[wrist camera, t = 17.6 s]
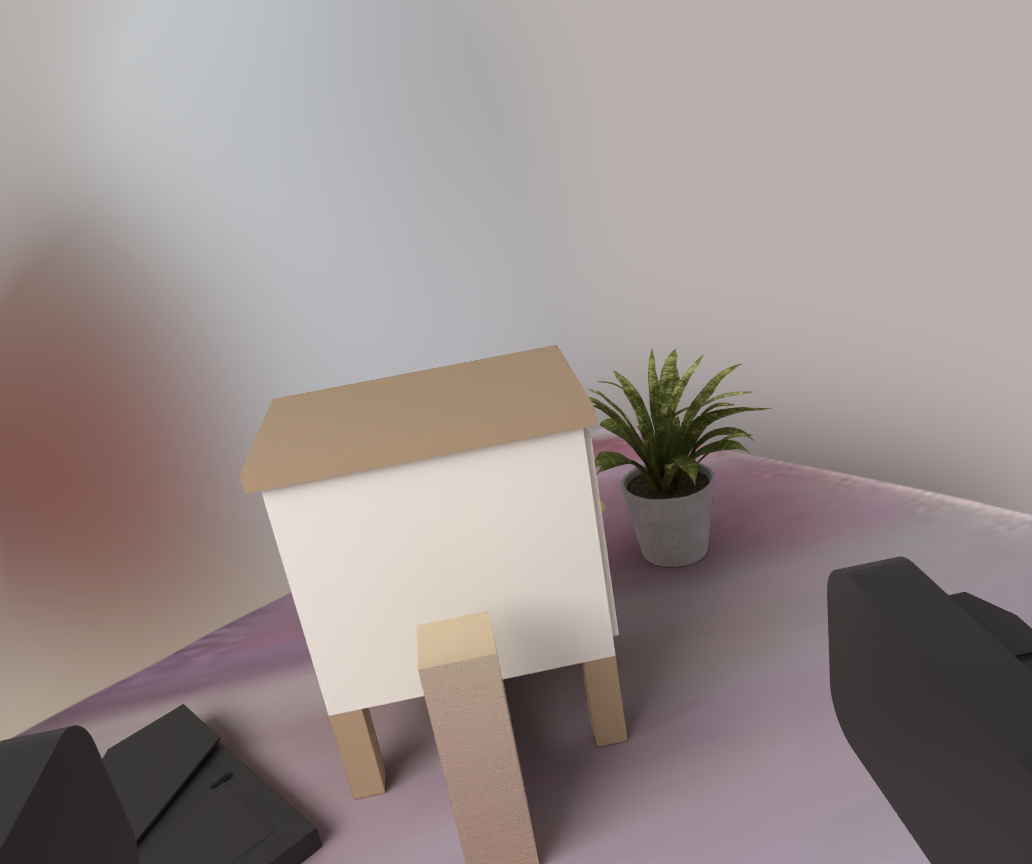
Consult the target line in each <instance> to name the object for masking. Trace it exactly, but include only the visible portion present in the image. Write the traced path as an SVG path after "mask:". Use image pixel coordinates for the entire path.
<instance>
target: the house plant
mask: <svg viewBox="0 0 1032 864" xmlns="http://www.w3.org/2000/svg"><path fill="white" fill-rule="evenodd" d="M675 350H676V349H675ZM675 350H674V351H672V353H671V354H670V355H669V356H668V358H667V359H666V361H665V364H664V367H663V369H662V372H661V377H660V381H659V382H658V378H657V375H656V371H655V358H654V354H653V350H652V351H651V354H650V359H649V368H648V381H649V396H650V411H651V418H652V421H653V425H654V429H655V436H654V430H653V426H652V423H651V420H650V417H649V415H648V412H647V410H646V407H645V405H644V402H643V400H642V398H641V396H640V395H639V393H638V392H637V390H636V389H635V388H634V387H633V385H632V384H631V383H630V382H629V381H628V380H627V379H626V378H625V377H624V376H622V375H620V374H618V373H617V372H615V371H614V373H615V376H616V378H617V379H618V380H619V381H620V382H621V384H622V387H620V386H618V385H617V384H614V383H611V382H604V381H603V382H604V383H610V384H613V385H616V386H618V387H620V388H622V389H623V391H624V393H625V395H626V396H627V398H628V400H629V401H630V403H631V404H632V406H633V409H634V411H635V414H636V417H637V420H638V423H639V426H637V427H638V429H639V431H640V433H641V435H642V438H643V441H644V443H643V442H642V440H641V439H640V438H639V436H638V434H637V433H636V431H635V429H634V428H633V426H632V424H631V423H630V421H629V420H628V418H627V417H626V415H625V414H624V413H623V411H622V410H621V409H620V408H618V407H617V406H616V405H615V404H614V403H612V402H611V401H610V400H609V399H608V398H607V397H605V396H604V395H603V394H602V393H601V392H598V391H593V390H591V391H592V392H594V393H597V394H599V395H601V396H602V397H603V398H604V399H606V401H607V402H609V403H610V404H611V405H612V406H613V407H614V408H615V409H616V410H617V411H619V412H620V413H621V414H622V416H623V417H624V419H625V420H626V421H627V423H628V424H629V426H630V427H629V426H628V425H627V424H626V423H625V421H624V420H623V419H622V418H621V417H620V416H619V415H618V414H617V413H616V412H614V411H613V410H612V409H610V408H609V407H607V406H606V405H605V404H603V403H601V402H600V401H598V400H597V399H594V398H592V397H589V399H590V400H591V402H593V403H595V404H596V405H594V407H596V408H598V409H600V410H602V411H603V412H604V413H606V414H607V415H609V416H610V417H611V418H612V419H606V420H604V421H602V422H601V424H600V425H601V426H602V427H604V428H605V429H607V430H609V431H611V432H612V433H614V434H616V435H618V436H619V437H621V438H623V439H624V440H625V441H626V442H627V443H628V444H629V445H630V446H631V447H632V448H633V449H634V450H635V452H636V453H637V454H638V456H639V457H640V458H641V459H642V461H643V462H644V463H645V464H644V465H640V464H638V463H637V462H635V461H633V460H630V459H628V458H626V457H625V456H623V455H621V454H619V453H615V452H609V451H606V452H601V453H600V454H598V456H597V458H596V460H595V467H596V466H602V467H601V468H600V469H599V471H598V473H599V472H601V471H604V470H607V469H610V468H613V467H616V466H619V465H623V464H633V465H635V466H636V467H637V468H635V469H633V470H631V471H630V472H628V473H627V474H626V475H625V476H624V478H623V480H622V482H621V487H622V491H623V494H624V497H625V500H626V503H627V507H628V510H629V513H630V516H631V520H632V523H633V526H634V529H635V532H636V536H637V539H638V542H639V545H640V548H641V552H642V555H643V556H644V558H645V559H646V560H647V561H649V562H650V563H653V564H655V565H659V566H663V567H680V566H685V565H690V564H692V563H695V562H697V561H699V560H700V559H702V558H703V557H704V556H705V555H706V554H707V551H708V545H709V534H710V524H711V513H712V502H713V492H714V481H715V477H714V473H713V472H712V471H711V469H710V468H709V467H707V466H705V465H703V464H701V463H699V462H700V461H701V460H702V459H703V458H704V457H705V456H706V455H707V454H709V453H711V452H716V451H723V450H732V449H740V450H745V451H747V450H746V449H745V448H744V447H743V446H742V445H741V444H740V443H739V442H736V441H732V440H728V439H730V438H733V437H737V436H747V437H749V438H751V437H750V434H747V433H746V432H744V431H742V430H740V429H737V428H734V427H725V428H720V429H715V430H713V431H711V432H709V433H707V434H705V435H704V436H703V437H702V438H701V439H700V440H699V441H697V440H698V438H699V437H700V435H701V434H702V432H703V431H704V430H705V428H706V427H707V426H708V425H709V424H711V423H712V422H713V421H715V420H718V419H720V418H722V417H725V416H729V415H732V414H736V413H739V412H744V411H754V410H765V409H767V408H747V407H739V408H728V409H720V410H715V411H712V412H708V411H709V410H711V409H713V408H715V407H718V406H730V405H734V404H729V403H716V404H714V405H711V406H710V407H709V408H707V409H706V410H705V411H704V412H703V413H702V414H701V415H700V416H698V417H697V418H696V419H695V420H693V419H694V417H695V415H696V414H697V412H698V411H699V409H700V408H701V407H702V406H704V405H706V404H708V403H710V402H712V401H714V400H717V399H720V398H723V397H726V396H733V395H739V394H746V393H751V392H732V393H727V394H723V395H719V396H717V397H714V398H712V399H710V400H708V401H707V402H706V400H707V399H708V398H709V397H710V396H711V395H712V394H713V392H714V390H715V389H716V387H717V385H718V383H719V382H720V381H721V379H723V378H724V377H725V376H726V375H727V374H729V373H730V372H731V371H733V370H734V369H735V368H736V367H738V366H739V365H740V364H739V365H735V366H732V367H730V368H727V369H725V370H724V371H722V372H720V373H719V374H718V375H716V376H715V377H714V378H713V379H712V380H711V381H710V382H709V383H708V384H707V385H706V386H705V387H704V388H703V390H702V391H701V392H700V394H698V396H697V397H696V398H695V400H694V401H693V402H692V404H691V405H690V407H687V408H684V409H682V410H680V411H678V412H676V413H675V411H676V408H677V405H678V403H679V401H680V398H681V396H682V394H683V392H684V389H685V387H686V385H687V383H688V381H689V379H690V377H691V375H692V374H693V372H694V371H695V369H696V368H697V366H698V365H699V363H700V361H701V359H702V356H701V357H700V358H699V359H698V360H697V361H696V362H695V363H694V364H693V365H692V366H691V367H690V368H689V369H688V371H687V372H686V373H685V374H684V376H683V377H682V378H681V380H680V378H679V374H678V371H677V367H676V361H677V354H676V351H675ZM679 380H680V381H679ZM601 382H602V381H601ZM589 390H590V389H589ZM686 409H688V410H687V412H686V414H685V417H684V419H683V422H682V425H681V426H680V420H679V417H675V416H676V415H678V414H679V413H681V412H683V411H684V410H686ZM706 412H708V413H706ZM692 420H693V421H692ZM679 426H680V428H679ZM728 434H731V435H729V436H727V437H725V438H724V439H722V440H721V441H716V442H714V443H711V444H708V445H706V446H704V447H702V448H701V449H699V450H698V451H696V449H697V448H698V447H699V446H700V445H701V444H703V443H704V442H705V441H706V440H708V439H709V438H712V437H714V436H717V435H728ZM751 439H752V438H751ZM696 441H697V442H696ZM644 444H645V445H644ZM694 444H695V445H694ZM693 446H694V447H693ZM692 448H693V449H692ZM691 449H692V451H691ZM690 451H691V453H690V455H689V456H688V454H689V452H690ZM695 451H696V452H695ZM747 452H748V451H747ZM703 454H705V455H704V456H703V457H702V458H701V459H700V460H699V461H698V462H696V460H695V458H697V457H698V456H700V455H703ZM630 461H631V462H630ZM598 473H597V474H598ZM597 474H596V475H597Z"/></svg>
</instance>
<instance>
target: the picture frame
mask: <svg viewBox="0 0 1032 864" xmlns="http://www.w3.org/2000/svg"><path fill="white" fill-rule="evenodd" d="M219 741H220V737H219V736H218V735H217V734H216V733H214V732H213V731H212V730H211V729H210V728H209V727H208V726H207V725H206V724H205V723H204V722H202V721H201V720H200V719H199V718H198V717H197V716H196V715H195V714H194V713H193V712H192V711H191V710H189V709H188V708H187V707H186V706H185V705H184V704H183V705H181V706H179V707H178V708H176V709H174V710H173V711H171V712H169V713H168V714H166V715H164V716H163V717H161V718H159V719H158V720H156V721H154V722H153V723H151V724H149V725H148V726H146V727H144V728H143V729H141V730H139V731H138V732H136V733H134V734H133V735H131V736H129V737H128V738H126V739H124V740H123V741H121V742H119V743H118V744H116V745H114V746H113V747H111V748H110V749H108V750H107V752H106V754H105V755H104V757H103V759H102V761H103V763H104V765H105V768H106V770H107V772H108V775H109V777H110V779H111V782H112V784H113V786H114V789H115V791H116V793H117V795H118V798H119V800H120V802H121V805H122V807H123V809H124V812H125V814H126V816H127V819H128V821H129V823H130V826H131V828H132V830H133V833H134V836H135V840H136V843H137V849H138V858H139V864H301V863H302V862H303V861H305V860H306V859H307V858H309V857H310V856H311V855H312V854H314V853H315V852H316V851H317V850H319V849H320V848H321V847H322V844H321V841H320V838H319V835H318V832H317V829H316V827H314V826H313V825H312V824H311V823H310V822H309V821H308V820H307V819H305V818H304V817H303V816H302V815H301V814H300V813H299V812H298V811H296V810H295V809H294V808H293V807H292V806H291V805H290V804H289V803H287V802H286V801H285V800H284V799H283V798H282V797H281V796H280V795H278V794H277V793H276V792H275V791H274V790H273V789H272V788H271V787H269V786H268V785H267V784H266V783H265V782H264V781H263V780H261V779H260V778H259V777H258V776H257V775H256V774H255V773H254V772H252V771H251V770H250V769H249V768H248V767H247V766H246V765H245V764H243V763H242V762H241V761H240V760H239V759H238V758H237V757H236V756H234V755H233V754H232V753H231V752H230V751H229V750H228V749H227V748H225V747H224V746H223V745H222V744H221V743H220V742H219Z"/></svg>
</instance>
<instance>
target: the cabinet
mask: <svg viewBox="0 0 1032 864" xmlns="http://www.w3.org/2000/svg"><path fill="white" fill-rule="evenodd" d="M595 425H597V424H596V416H595V409H594V405H593V404H592V402H591V400H590V399H589V397H588V395H587V394H586V392H585V390H584V389H583V387H582V386H581V384H580V382H579V381H578V379H577V378H576V376H575V374H574V373H573V371H572V369H571V368H570V366H569V364H568V362H567V361H566V359H565V358H564V356H563V354H562V353H561V351H560V349H559V348H558V346H557V345H555V346H549V347H544V348H538V349H533V350H528V351H523V352H517V353H512V354H507V355H502V356H496V357H491V358H486V359H481V360H475V361H471V362H465V363H460V364H455V365H449V366H444V367H439V368H434V369H428V370H423V371H418V372H412V373H407V374H402V375H397V376H392V377H386V378H381V379H376V380H370V381H366V382H360V383H355V384H349V385H344V386H339V387H334V388H328V389H323V390H318V391H313V392H307V393H302V394H297V395H292V396H287V397H282V398H276V399H273V400H272V402H271V404H270V406H269V409H268V411H267V413H266V416H265V418H264V420H263V423H262V425H261V427H260V429H259V432H258V434H257V436H256V439H255V441H254V443H253V446H252V448H251V450H250V453H249V455H248V457H247V459H246V462H245V464H244V466H243V469H242V471H241V473H240V478H241V481H242V485H243V488H244V491H245V494H248V493H252V492H258V491H261V492H262V495H263V499H264V502H265V505H266V508H267V512H268V515H269V519H270V521H271V525H272V528H273V532H274V535H275V538H276V542H277V545H278V548H279V552H280V555H281V558H282V562H283V565H284V568H285V572H286V575H287V578H288V582H289V585H290V588H291V592H292V595H293V598H294V602H295V605H296V608H297V612H298V615H299V618H300V622H301V625H302V628H303V632H304V635H305V638H306V642H307V645H308V648H309V652H310V655H311V658H312V662H313V665H314V668H315V671H316V675H317V678H318V681H319V685H320V688H321V691H322V695H323V698H324V701H325V705H326V708H327V711H328V715H329V718H330V721H331V725H332V728H333V731H334V735H335V738H336V741H337V745H338V748H339V751H340V755H341V758H342V761H343V765H344V768H345V771H346V775H347V778H348V781H349V785H350V788H351V791H352V795H353V798H354V799H359V798H363V797H368V796H373V795H377V794H382V793H385V783H386V769H385V765H384V762H383V758H382V755H381V751H380V747H379V744H378V740H377V737H376V733H375V729H374V726H373V722H372V719H371V715H370V711H369V707H373V706H378V705H383V704H388V703H392V702H397V701H402V700H407V699H411V698H416V697H421V696H424V692H423V688H422V684H421V680H420V676H419V672H418V650H417V625H421V624H426V623H431V622H435V621H440V620H445V619H450V618H455V617H460V616H464V615H469V614H474V613H479V612H484V611H489V614H490V619H491V623H492V628H493V633H494V638H495V643H496V648H497V653H498V658H499V663H500V668H501V672H502V677H503V679H507V678H512V677H516V676H521V675H526V674H531V673H536V672H540V671H545V670H550V669H555V668H559V667H564V666H569V665H574V664H578V663H581V666H582V673H583V679H584V685H585V691H586V697H587V704H588V710H589V716H590V722H591V727H592V731H593V734H594V738H595V741H596V744H597V747H601V746H605V745H610V744H615V743H619V742H624V741H628V739H627V732H626V725H625V718H624V711H623V704H622V697H621V690H620V683H619V676H618V669H617V662H616V655H615V648H614V641H613V636H617V635H619V632H618V625H617V618H616V611H615V604H614V597H613V589H612V582H611V575H610V568H609V561H608V554H607V546H606V539H605V532H604V525H603V518H602V514H603V513H604V511H605V504H604V503H603V501H601V500H600V494H599V489H598V482H597V475H596V468H595V460H594V453H593V446H592V439H591V436H590V434H589V432H588V431H587V429H586V427H590V426H595Z"/></svg>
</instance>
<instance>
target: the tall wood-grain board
mask: <svg viewBox="0 0 1032 864" xmlns="http://www.w3.org/2000/svg"><path fill="white" fill-rule="evenodd" d="M417 650H418V672H419V676H420V680H421V684H422V688H423V692H424V696H425V700H426V704H427V708H428V712H429V716H430V720H431V724H432V728H433V732H434V736H435V741H436V745H437V749H438V753H439V757H440V761H441V765H442V769H443V773H444V777H445V781H446V785H447V789H448V793H449V797H450V801H451V805H452V809H453V813H454V817H455V821H456V825H457V829H458V833H459V837H460V841H461V846H462V850H463V854H464V858H465V862H466V864H539V859H538V854H537V848H536V842H535V837H534V831H533V826H532V820H531V814H530V809H529V805H528V800H527V795H526V790H525V785H524V780H523V775H522V770H521V765H520V761H519V756H518V751H517V746H516V741H515V736H514V731H513V726H512V721H511V716H510V712H509V707H508V702H507V697H506V692H505V687H504V682H503V677H502V672H501V668H500V663H499V658H498V653H497V648H496V643H495V638H494V633H493V628H492V623H491V619H490V614H489V611H484V612H479V613H474V614H469V615H464V616H460V617H455V618H450V619H445V620H440V621H435V622H431V623H426V624H421V625H417Z"/></svg>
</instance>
